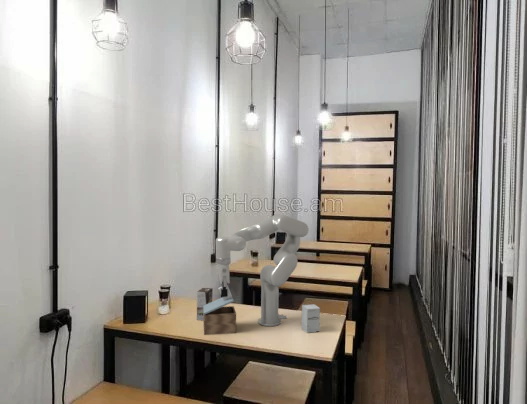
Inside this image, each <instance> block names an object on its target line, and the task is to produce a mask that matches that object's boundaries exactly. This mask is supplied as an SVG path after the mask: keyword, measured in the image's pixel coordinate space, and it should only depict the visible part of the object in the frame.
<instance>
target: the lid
mask: <svg viewBox="0 0 527 404" xmlns="http://www.w3.org/2000/svg"><path fill="white" fill-rule="evenodd" d="M221 289H222V287H221V286H220V287H218V291H219V293H220V295H221ZM227 295H228V296H227V297H220V298H218V299H215V300H212V302H211V303H208V304H206V305H204V306H203V309H204V315H205V314H207V313H210V312H212V311H214V310H216V309H219V308H221V307H226V306H227V305H229V304H232V303H234V302H235V300H234V298H233V295H232V293H231V290H230V287H229V285H228V284H227Z"/></svg>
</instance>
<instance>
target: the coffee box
mask: <svg viewBox="0 0 527 404" xmlns="http://www.w3.org/2000/svg"><path fill="white" fill-rule="evenodd" d="M211 302H213V288H212V287H202V288H201V289H198V291H196V320H197V321H203V322H204V309H203V306H204V305H206V304H208V303H211Z"/></svg>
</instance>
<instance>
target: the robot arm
mask: <svg viewBox="0 0 527 404" xmlns="http://www.w3.org/2000/svg"><path fill="white" fill-rule="evenodd" d="M309 229H310V228H309V226H308V224H307V223H306V222H305V221H301V220H299V219H296V218H293V217H290V216H287V215H284V214H273V215H272V216H269V217H267V218H266V219H264V220H261V221H260V222H258V223H256V224H253V225H250V226H247V227H245V228H242V229H239V230H237V231H236V232H234V233H231V234H230V235H229V236H227V237H226V236H219V237H216V239H215V264H216V265H217V266H218V279H219V283H220V287H222V289H221V294H220V296H221V297H220V298H222V297H227V296H228V295H227V285H228V284H230V283H231V281H230V279H231V277H230V265H231V252H240V251H243V250H245V248H246V245H247V242H250V241H253V240H261V239H264V238H267V237H268V236H270V235H272V234H274V233H276V232H278V231H281V232H284V233H286V239H285V241H284V243H283V244H282V245H281V247H279V249H278V250H277V252H276V254H274V256H273V264H275V265H276V266H274V265H271V264H265V266H264V265H263V267H262V268H261V270H260V275H259V276H260V277H259V278H260V285H261V287H260V288H261V290H260V291H261V292H260V293H261V294H260V299H261V301H260V303H261V304H260V318H259V319H257V323H258V324H259V325H261V326H264V327H276V326H279V325H280V324H282V321H281V320H287V319H288V317H287V315H284V314H279V287H281V286H283V285H284V284H285V283H286V282H287V281H288V279H289V278H290V276H291V275H292V274H293V272H294V271H295V269H296V268H297V266H298V257H297V255H296V254H297V251H298V250H299V248H300V245H301V238H305V237H306V236H307V235H308V233H309V231H310V230H309Z"/></svg>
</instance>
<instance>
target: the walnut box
mask: <svg viewBox="0 0 527 404" xmlns="http://www.w3.org/2000/svg"><path fill="white" fill-rule="evenodd" d="M236 333H237V312H236V310H235V306H234V305H233V306H231V305H229V306H223V307H221V308H219V309H216V310H214V311H212V312H210V313H207V314H205V315H204V321H203V334H204V336H206V335H208V336H209V335H222V334H226V335H227V334H236Z"/></svg>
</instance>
